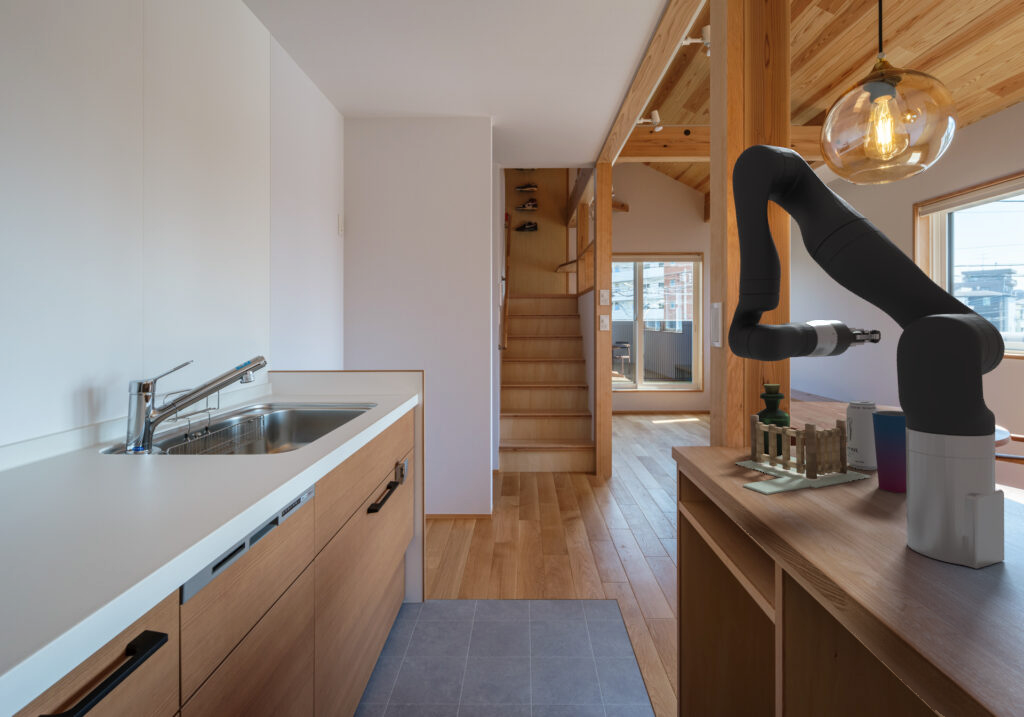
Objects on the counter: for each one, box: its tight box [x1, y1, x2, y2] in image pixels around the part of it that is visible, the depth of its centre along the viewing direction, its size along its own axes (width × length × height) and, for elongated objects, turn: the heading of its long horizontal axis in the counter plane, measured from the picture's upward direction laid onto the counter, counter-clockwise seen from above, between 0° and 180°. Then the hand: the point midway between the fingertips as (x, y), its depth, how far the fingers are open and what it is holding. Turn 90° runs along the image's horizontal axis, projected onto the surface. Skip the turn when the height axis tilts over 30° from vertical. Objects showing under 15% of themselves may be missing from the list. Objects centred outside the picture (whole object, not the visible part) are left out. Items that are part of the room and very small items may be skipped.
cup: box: [872, 410, 906, 494], centre depth 94 cm, size 7×7×15 cm
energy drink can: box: [845, 400, 880, 471], centre depth 110 cm, size 6×6×15 cm
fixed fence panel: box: [804, 418, 848, 479], centre depth 103 cm, size 2×11×12 cm, turn 109°
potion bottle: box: [755, 383, 791, 456], centre depth 126 cm, size 8×8×18 cm
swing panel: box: [749, 414, 806, 474], centre depth 110 cm, size 14×2×11 cm, turn 20°
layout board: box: [735, 455, 871, 495], centre depth 108 cm, size 21×28×1 cm
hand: (876, 335), depth 105 cm, fingers closed
